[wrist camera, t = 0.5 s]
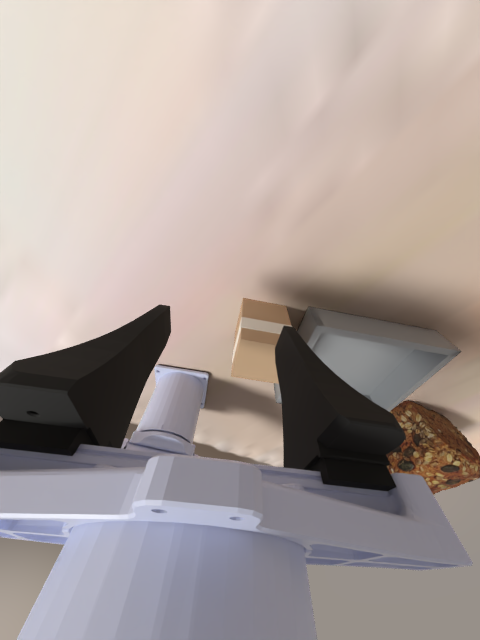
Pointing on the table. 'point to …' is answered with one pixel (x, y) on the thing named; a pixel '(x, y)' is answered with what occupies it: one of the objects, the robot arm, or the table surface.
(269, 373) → the carton
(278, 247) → the table surface
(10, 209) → the table surface
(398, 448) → the bread
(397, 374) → the bin
